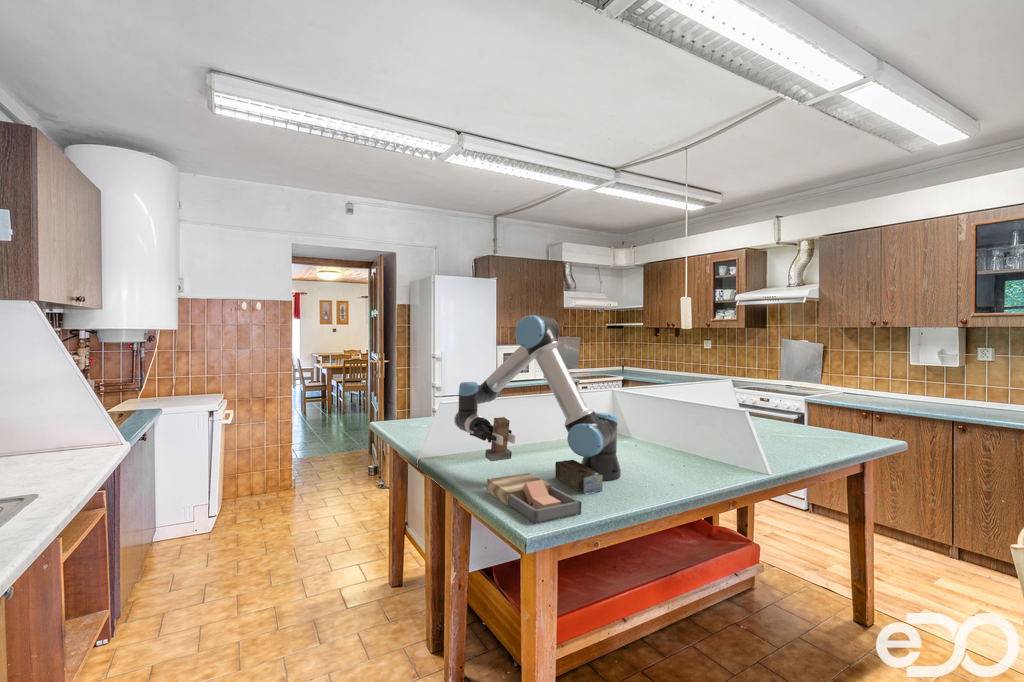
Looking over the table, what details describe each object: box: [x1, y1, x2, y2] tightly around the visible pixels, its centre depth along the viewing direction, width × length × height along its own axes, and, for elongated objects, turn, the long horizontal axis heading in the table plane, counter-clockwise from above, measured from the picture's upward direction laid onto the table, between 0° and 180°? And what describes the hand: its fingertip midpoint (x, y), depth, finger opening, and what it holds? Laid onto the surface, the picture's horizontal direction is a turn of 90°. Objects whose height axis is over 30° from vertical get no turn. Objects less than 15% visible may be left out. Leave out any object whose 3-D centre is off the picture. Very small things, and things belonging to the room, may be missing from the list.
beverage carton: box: [554, 459, 603, 495], centre depth 165 cm, size 8×19×7 cm, turn 24°
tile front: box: [533, 495, 561, 510], centre depth 140 cm, size 6×6×3 cm
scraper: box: [484, 416, 513, 462], centre depth 165 cm, size 4×8×14 cm, turn 120°
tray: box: [507, 486, 582, 525], centre depth 141 cm, size 15×16×4 cm
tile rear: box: [523, 479, 549, 505], centre depth 146 cm, size 6×6×3 cm
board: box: [486, 472, 553, 506], centre depth 154 cm, size 14×16×4 cm
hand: (508, 440), depth 160 cm, fingers closed on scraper, 4 cm apart
